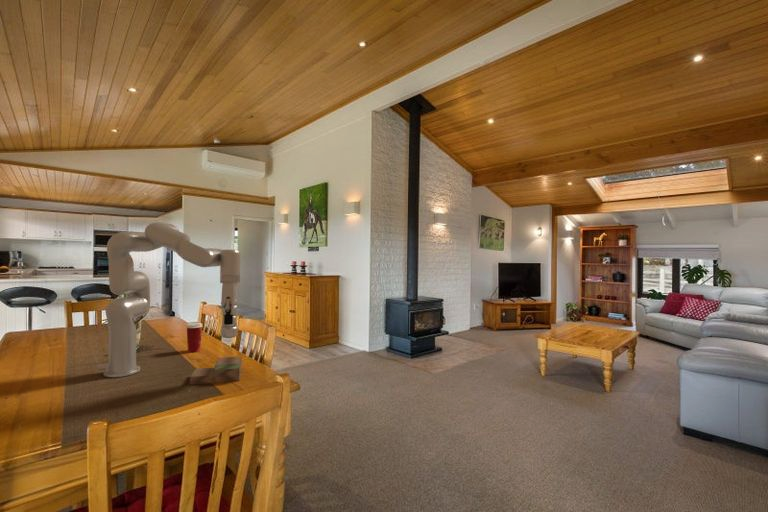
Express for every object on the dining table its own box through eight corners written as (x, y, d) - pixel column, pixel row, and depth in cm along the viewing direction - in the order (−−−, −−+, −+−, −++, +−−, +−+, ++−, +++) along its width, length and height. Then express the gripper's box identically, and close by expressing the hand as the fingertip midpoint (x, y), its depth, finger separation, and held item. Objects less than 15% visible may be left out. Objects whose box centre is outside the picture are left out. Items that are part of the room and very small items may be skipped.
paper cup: (205, 350, 187) (205, 323, 187) (190, 354, 180) (191, 326, 180) (197, 347, 191) (197, 321, 191) (182, 351, 185) (182, 324, 184)
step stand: (189, 384, 141) (190, 367, 141) (195, 375, 151) (195, 359, 151) (239, 380, 146) (239, 363, 146) (241, 372, 156) (241, 356, 156)
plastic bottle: (231, 340, 146) (232, 291, 145) (216, 339, 147) (217, 290, 147) (241, 336, 152) (241, 289, 152) (226, 335, 153) (227, 288, 153)
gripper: (223, 277, 156) (222, 319, 157) (217, 281, 140) (216, 327, 140) (241, 277, 158) (240, 318, 159) (237, 281, 142) (237, 326, 142)
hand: (229, 322), depth 149 cm, fingers closed on plastic bottle, 5 cm apart
